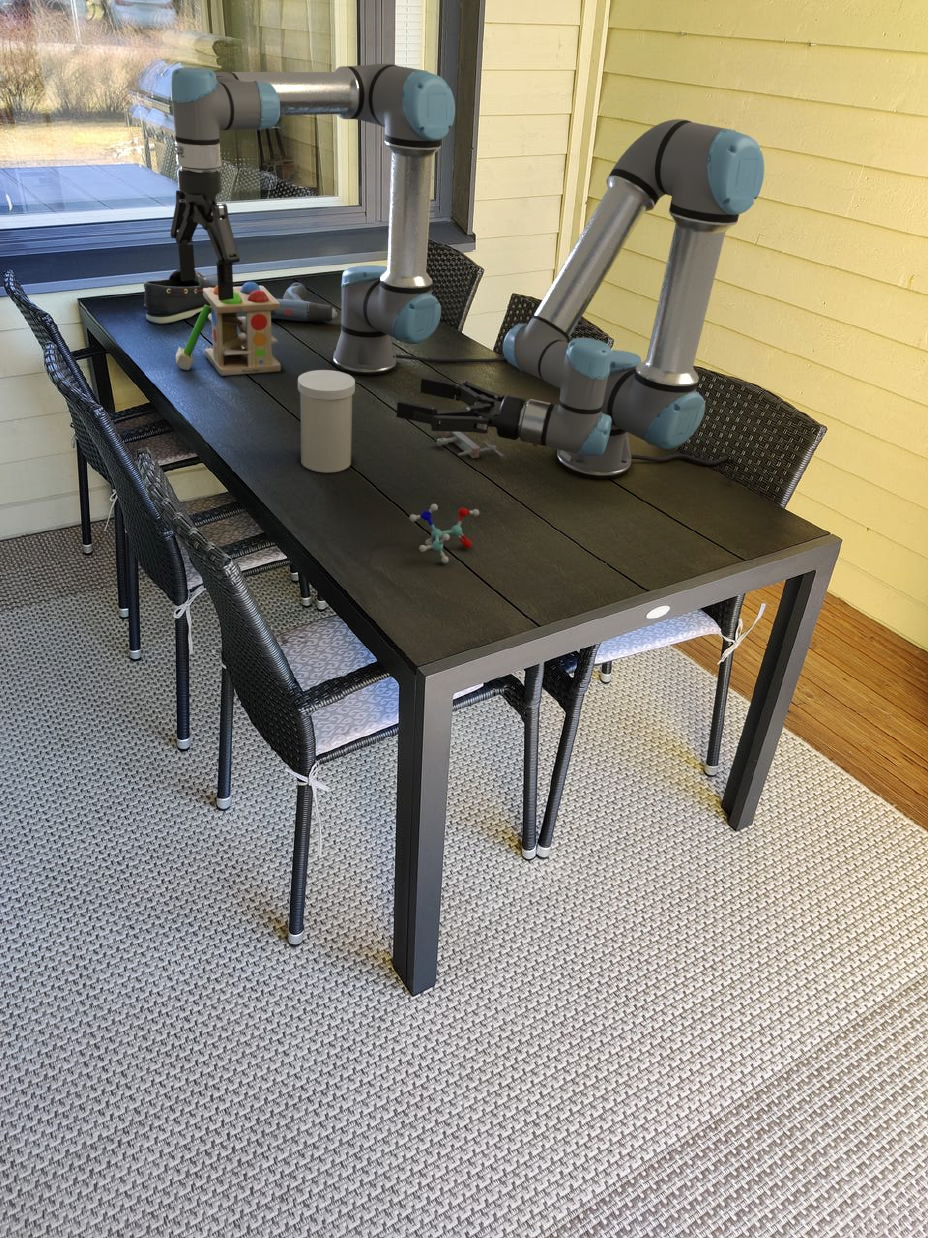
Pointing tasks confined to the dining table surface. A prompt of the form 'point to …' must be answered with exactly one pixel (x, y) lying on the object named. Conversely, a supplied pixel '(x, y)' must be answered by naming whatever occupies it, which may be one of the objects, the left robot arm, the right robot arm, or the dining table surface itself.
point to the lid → (326, 384)
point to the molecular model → (437, 533)
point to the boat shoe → (176, 297)
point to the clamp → (465, 444)
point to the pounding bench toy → (229, 347)
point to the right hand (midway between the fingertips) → (409, 396)
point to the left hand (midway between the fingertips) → (206, 289)
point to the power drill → (301, 307)
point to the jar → (326, 433)
